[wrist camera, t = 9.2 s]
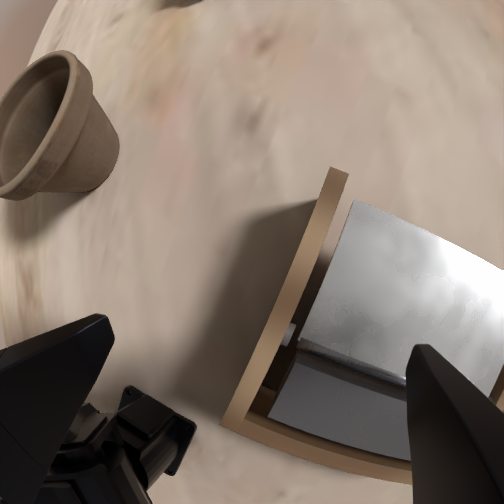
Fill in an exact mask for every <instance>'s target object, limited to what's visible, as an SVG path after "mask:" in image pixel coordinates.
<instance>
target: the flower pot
mask: <svg viewBox="0 0 504 504" xmlns="http://www.w3.org/2000/svg"><path fill="white" fill-rule="evenodd" d="M92 93H93V82H92V77H91V74H90V72H89V71H88V69H87V68H86V67H85V66H84V65H83V64H82V63H81V62H80V61H79V60H78V59H77V57H76V56H75V55H74V54H73V53H71V52H69V51H64V50H60V51H55V52H52V53H49V54H47V55H45V56H43V57H41V58H40V59H38V60H36V61H35V62H34V63H32V64H31V65H30V66H29V67H27V68H26V69H25V70H24V71H23V72H22V73H21V74H20V75H19V76H18V77H17V79H16V80H15V81H14V82H13V83H12V84H11V86H10V87H9V88H8V90H7V91H6V92H5V94H4V96H3V97H2V99H1V100H0V198H4V199H9V200H23V199H26V198H28V197H30V196H32V195H33V194H35V193H36V192H85V191H89V190H92V189H94V188H96V187H98V186H99V185H100V184H101V183H102V182H103V181H104V180H105V179H106V178H107V177H108V176H109V174H110V173H111V171H112V170H113V168H114V166H115V164H116V161H117V158H118V154H119V138H118V135H117V133H116V131H115V129H114V127H113V126H112V124H111V122H110V120H109V119H108V117H107V116H106V114H105V112H104V111H103V109H102V108H101V106H100V105H99V103H98V102H97V100H96V99H95V97H94V96H93V94H92Z"/></svg>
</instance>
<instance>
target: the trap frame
mask: <svg viewBox="0 0 504 504" xmlns="http://www.w3.org/2000/svg"><path fill="white" fill-rule="evenodd" d="M348 175H349V174H348V173H345V172H343V171H340V170H338V169H335V168H332V167H330V169H329V171H328V174H327V177H326V179H325V182H324V184H323V187H322V190H321V192H320V195H319V198H318V200H317V203H316V205H315V208H314V210H313V213H312V215H311V218H310V221H309V223H308V226H307V228H306V231H305V233H304V236H303V238H302V241H301V243H300V245H299V248H298V250H297V253H296V255H295V258H294V260H293V263H292V265H291V267H290V270H289V272H288V275H287V277H286V279H285V282H284V284H283V286H282V289H281V291H280V293H279V296H278V298H277V300H276V303H275V305H274V307H273V310H272V312H271V314H270V317H269V319H268V321H267V323H266V326H265V328H264V330H263V332H262V335H261V337H260V339H259V341H258V344H257V346H256V348H255V350H254V352H253V355H252V357H251V359H250V361H249V363H248V366H247V368H246V370H245V372H244V374H243V376H242V378H241V381H240V383H239V385H238V387H237V389H236V391H235V393H234V395H233V398H232V400H231V402H230V404H229V406H228V408H227V410H226V412H225V414H224V416H223V418H222V420H221V422H220V424H219V425H221V426H223V427H225V428H228V429H230V430H232V431H234V432H236V433H239V434H241V435H243V436H245V437H248V438H250V439H252V440H255V441H257V442H260V443H262V444H265V445H267V446H270V447H272V448H275V449H278V450H280V451H283V452H286V453H288V454H291V455H294V456H297V457H300V458H303V459H306V460H309V461H312V462H315V463H318V464H322V465H325V466H328V467H332V468H335V469H339V470H343V471H347V472H350V473H354V474H359V475H363V476H367V477H372V478H376V479H381V480H386V481H392V482H397V483H404V484H410V485H412V469H411V461H409V460H404V459H399V458H395V457H390V456H386V455H382V454H378V453H374V452H370V451H366V450H363V449H359V448H355V447H352V446H349V445H345V444H342V443H339V442H335V441H332V440H329V439H326V438H323V437H320V436H317V435H314V434H311V433H308V432H306V431H303V430H300V429H297V428H295V427H292V426H289V425H287V424H284V423H282V422H279V421H277V420H274V419H272V418H269V417H268V414H269V411H270V408H271V405H272V401H273V398H274V396H275V394H276V392H275V391H273V390H271V389H268V388H266V387H264V386H261V383H262V381H263V379H264V377H265V375H266V373H267V371H268V369H269V367H270V365H271V363H272V360H273V358H274V356H275V354H276V352H277V350H278V348H279V345H280V344H281V345H284V346H286V347H287V345H288V343H289V341H290V339H291V336H292V334H293V332H294V330H295V327H296V325H295V324H293V323H290V321H291V319H292V317H293V314H294V312H295V310H296V307H297V305H298V303H299V301H300V298H301V296H302V294H303V291H304V289H305V286H306V284H307V282H308V279H309V277H310V274H311V272H312V270H313V267H314V265H315V262H316V260H317V257H318V255H319V252H320V250H321V247H322V245H323V242H324V240H325V237H326V235H327V232H328V229H329V227H330V224H331V222H332V219H333V216H334V214H335V211H336V208H337V205H338V203H339V200H340V197H341V195H342V192H343V189H344V186H345V183H346V181H347V178H348ZM488 398H489V399H490V400H491V401H492V402H493V403H494V404H495V405H496V406H497V407H498V408H499V409H500V410H501V411H502V412H503V410H504V364H503V366H502V369H501V371H500V373H499V376H498V378H497V380H496V382H495V384H494V386H493V389H492V391H491V393H490V395H489V397H488Z"/></svg>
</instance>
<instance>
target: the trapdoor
mask: <svg viewBox="0 0 504 504" xmlns="http://www.w3.org/2000/svg"><path fill="white" fill-rule="evenodd" d="M426 343H427V344H430V345H431V346H432V347H434V348H435V349H436V350H437V351H438V352H439V353H440V354H441V355H442V356H444V357H445V358H446V359H447V360H448V361H449V362H450V363H451V364H452V365H454V366H455V367H456V368H457V369H458V370H459V371H460V372H461V373H462V374H463V375H464V376H465V377H467V378H468V379H469V380H470V381H471V382H472V383H473V384H474V385H475V386H476V387H477V388H478V389H479V390H480V391H481V392H482V393H484V394H485V395H486V396H487V397H489V395H490V393H491V391H492V389H493V386H494V384H495V382H496V380H497V378H498V376H499V373H500V371H501V369H502V366H503V364H504V272H503V271H502V270H500V269H498V268H496V267H495V266H493V265H491V264H489V263H488V262H486V261H484V260H482V259H480V258H478V257H477V256H475V255H473V254H471V253H469V252H467V251H465V250H464V249H462V248H460V247H458V246H456V245H454V244H452V243H450V242H448V241H446V240H444V239H442V238H440V237H438V236H436V235H434V234H432V233H430V232H428V231H426V230H424V229H422V228H419V227H417V226H415V225H413V224H411V223H409V222H407V221H404V220H402V219H400V218H398V217H396V216H393V215H391V214H389V213H387V212H384V211H382V210H380V209H377V208H375V207H373V206H370V205H368V204H366V203H363V202H361V201H358V200H356V199H354V201H353V203H352V205H351V208H350V211H349V214H348V217H347V219H346V222H345V225H344V227H343V230H342V233H341V235H340V238H339V241H338V243H337V246H336V248H335V251H334V254H333V256H332V259H331V261H330V264H329V266H328V269H327V271H326V274H325V276H324V279H323V281H322V283H321V286H320V288H319V291H318V293H317V295H316V298H315V300H314V302H313V305H312V307H311V309H310V312H309V314H308V316H307V318H306V321H305V323H304V325H303V327H302V329H301V332H300V334H299V336H298V343H297V345H296V348H298V349H297V351H296V353H295V355H294V357H293V359H292V362H291V364H290V366H289V368H288V370H287V372H286V374H285V376H284V378H283V380H282V382H281V384H280V386H279V388H278V390H277V392H276V394H275V396H274V398H273V401H272V405H271V408H270V411H269V414H268V417H269V418H272V419H274V420H277V421H279V422H282V423H284V424H287V425H289V426H292V427H295V428H297V429H300V430H303V431H306V432H308V433H311V434H314V435H317V436H320V437H323V438H326V439H329V440H332V441H335V442H339V443H342V444H345V445H349V446H352V447H355V448H359V449H363V450H366V451H370V452H374V453H378V454H382V455H386V456H390V457H395V458H399V459H404V460H409V461H411V456H410V446H409V436H408V427H407V398H406V376H405V373H406V367H407V364H408V361H409V358H410V355H411V352H412V349H413V347H414V345H415V344H426ZM299 349H301V350H299ZM302 350H303V351H302ZM304 351H306V352H308V353H306V352H304ZM309 353H311V354H313V355H311V354H309ZM314 355H315V356H314ZM316 356H318V357H316ZM319 357H320V358H319ZM321 358H323V359H321ZM324 359H326V360H328V361H326V360H324ZM329 361H331V362H333V363H331V362H329ZM334 363H336V364H334ZM337 364H338V365H337ZM339 365H341V366H339ZM342 366H344V367H346V368H344V367H342ZM347 368H349V369H347ZM350 369H352V370H354V371H352V370H350ZM355 371H357V372H355ZM358 372H360V373H362V374H360V373H358ZM363 374H365V375H363ZM366 375H368V376H366ZM369 376H371V377H373V378H371V377H369ZM374 378H376V379H374ZM377 379H379V380H377ZM380 380H382V381H380ZM383 381H385V382H383ZM386 382H388V383H386ZM389 383H390V384H389ZM392 384H393V385H392ZM394 385H396V386H394ZM397 386H399V387H397ZM400 387H402V388H400ZM403 388H405V389H403Z"/></svg>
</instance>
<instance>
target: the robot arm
mask: <svg viewBox="0 0 504 504" xmlns="http://www.w3.org/2000/svg"><path fill="white" fill-rule="evenodd" d="M114 340H115V336H114V333H113V330H112V327H111V324H110V321H109V319H108V317H107V316H106V315H102V314H97V313H96V314H93V315H90V316H87V317H85V318H82V319H80V320H77V321H74V322H72V323H69V324H67V325H64V326H62V327H59V328H56V329H54V330H51V331H49V332H46V333H43V334H41V335H38V336H36V337H33V338H30V339H28V340H25V341H23V342H20V343H17V344H15V345H12V346H10V347H8V348H5V349H2V350H0V504H153V503H152V501H151V499H150V498H149V496H148V494H147V492H146V491H147V490H148V489H149V488H150V487H151V486H152V485H153V484H154V482H155V481H156V480H157V479H158V478H159V477H160V476H161V474H162V473H163V472H164V473H166V474H167V475H170V476H174V475H175V474H176V472H177V470H178V468H179V466H180V464H181V462H182V460H183V458H184V455H185V453H186V451H187V449H188V447H189V445H190V443H191V440H192V438H193V436H194V434H195V432H196V429H197V426H196V424H195V423H194V422H192V421H190V420H189V419H187V418H185V417H183V416H181V415H179V414H178V413H176V412H174V411H173V410H172V409H170V408H168V407H167V406H165V405H163V404H162V403H160V402H158V401H157V400H155V399H153V398H152V397H150V396H148V395H145V394H144V393H142V392H141V391H139V390H138V389H136V388H134V387H133V386H128V387H126V388H125V389H124V392H123V395H122V398H121V402H120V405H119V409H118V411H117V413H115V414H102V413H100V412H99V410H96V409H95V408H94V407H93V406H92V405H91V404H90V403H84V401H85V399H86V398H87V396H88V394H89V392H90V391H91V389H92V387H93V385H94V384H95V382H96V380H97V378H98V376H99V374H100V372H101V369H102V367H103V365H104V363H105V361H106V359H107V356H108V354H109V352H110V350H111V348H112V346H113V344H114ZM405 376H406V398H407V427H408V436H409V446H410V456H411V469H412V485H413V504H504V413H503V412H502V411H501V410H500V409H499V408H498V407H497V406H496V405H495V404H494V403H493V402H492V401H491V400H490V399H489V398H488V397H487V396H486V395H485V394H484V393H482V392H481V391H480V390H479V389H478V388H477V387H476V386H475V385H474V384H473V383H472V382H471V381H470V380H469V379H468V378H467V377H465V376H464V375H463V374H462V373H461V372H460V371H459V370H458V369H457V368H456V367H455V366H454V365H452V364H451V363H450V362H449V361H448V360H447V359H446V358H445V357H444V356H442V355H441V354H440V353H439V352H438V351H437V350H436V349H435V348H434V347H432V346H431V345H430V344H427V343H426V344H415V345H414V347H413V349H412V352H411V355H410V358H409V361H408V364H407V367H406V373H405ZM129 390H130V391H131V393H132V394H131V393H130V392H129ZM188 426H190V427H191V428H192V429H189V428H188ZM170 470H171V471H170Z"/></svg>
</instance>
